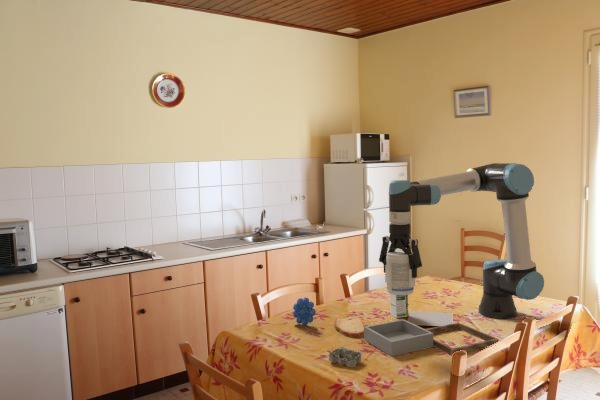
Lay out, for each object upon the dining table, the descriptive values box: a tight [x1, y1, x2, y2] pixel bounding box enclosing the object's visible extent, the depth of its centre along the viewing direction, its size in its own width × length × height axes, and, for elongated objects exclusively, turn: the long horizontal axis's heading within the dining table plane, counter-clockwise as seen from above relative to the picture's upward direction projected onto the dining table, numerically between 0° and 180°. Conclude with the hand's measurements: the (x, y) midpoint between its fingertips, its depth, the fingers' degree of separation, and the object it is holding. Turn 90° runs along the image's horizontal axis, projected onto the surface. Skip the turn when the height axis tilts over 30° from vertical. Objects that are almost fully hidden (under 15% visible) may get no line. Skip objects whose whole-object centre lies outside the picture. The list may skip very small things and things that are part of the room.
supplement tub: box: [386, 250, 415, 295], centre depth 186 cm, size 10×10×15 cm
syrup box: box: [389, 293, 409, 319], centre depth 219 cm, size 6×6×14 cm
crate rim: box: [424, 322, 499, 356], centre depth 189 cm, size 21×21×2 cm
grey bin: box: [363, 318, 434, 357], centre depth 188 cm, size 18×18×5 cm
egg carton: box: [327, 346, 363, 368], centre depth 173 cm, size 11×8×4 cm
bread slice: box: [333, 314, 365, 339], centre depth 205 cm, size 18×18×4 cm
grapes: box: [292, 297, 316, 326], centre depth 211 cm, size 12×7×12 cm, turn 51°
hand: (400, 284), depth 186 cm, fingers closed on supplement tub, 10 cm apart
